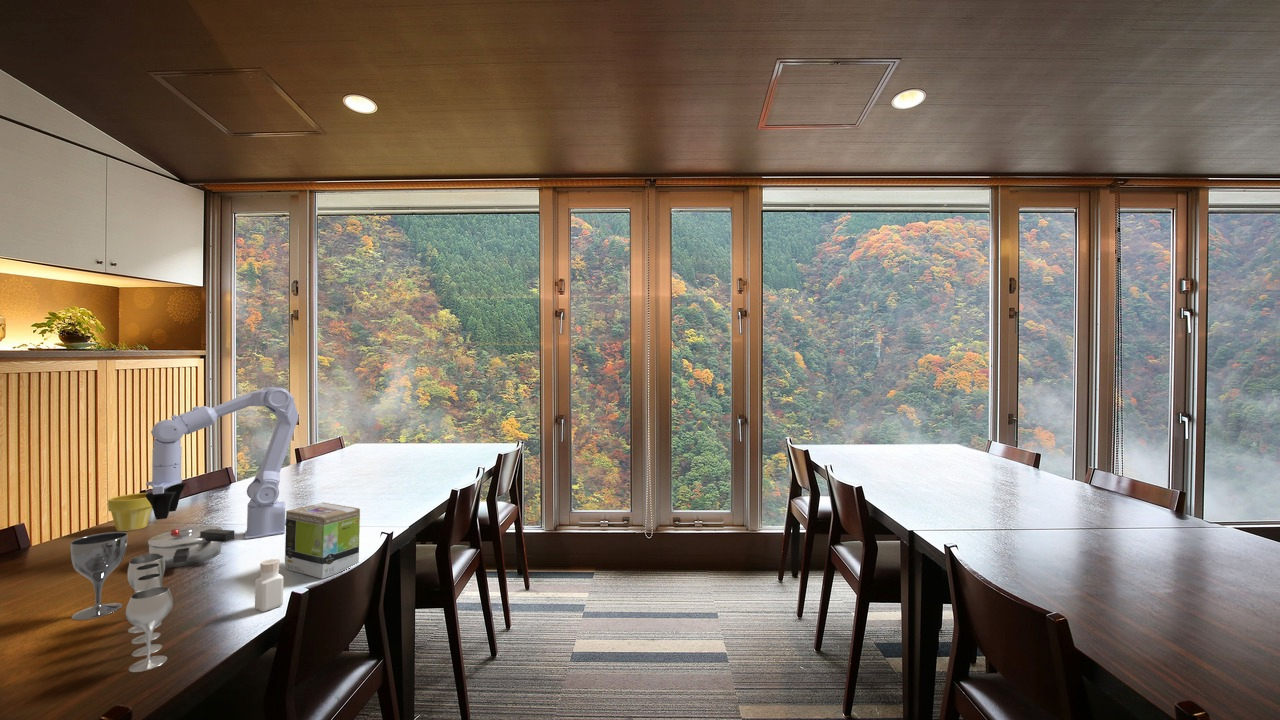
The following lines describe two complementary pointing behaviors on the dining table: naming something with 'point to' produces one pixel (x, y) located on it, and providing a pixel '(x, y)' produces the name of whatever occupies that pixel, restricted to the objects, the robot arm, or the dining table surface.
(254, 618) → the dining table surface
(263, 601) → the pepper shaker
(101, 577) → the wine glass
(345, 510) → the tea box
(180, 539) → the cooker lid
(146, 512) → the plant pot
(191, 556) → the cooker pot
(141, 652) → the goblet set
